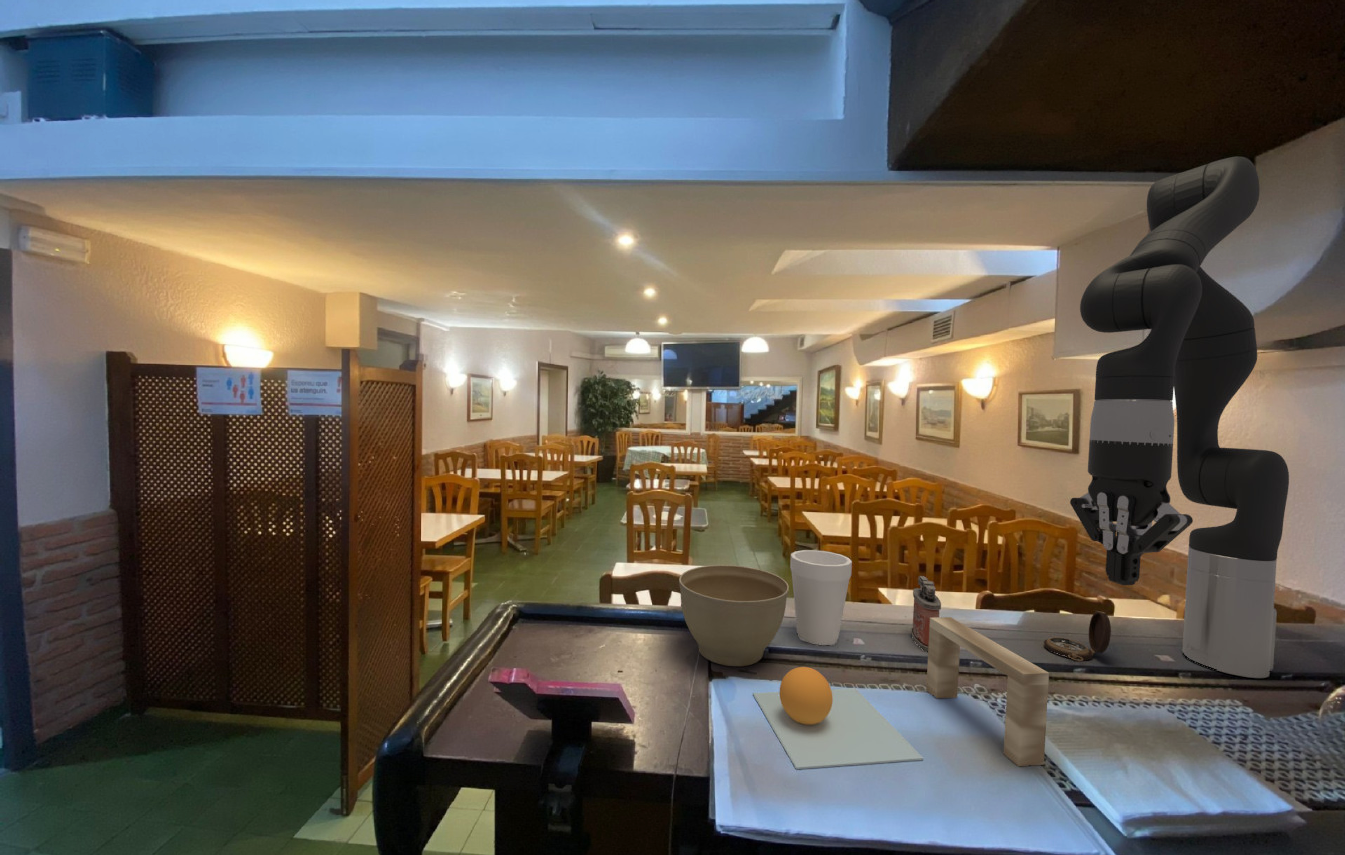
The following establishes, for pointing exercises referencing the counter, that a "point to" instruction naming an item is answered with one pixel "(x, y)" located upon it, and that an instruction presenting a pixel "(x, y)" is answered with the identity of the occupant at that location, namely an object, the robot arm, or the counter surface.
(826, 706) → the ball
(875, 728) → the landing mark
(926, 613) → the lighter
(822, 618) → the foam cup
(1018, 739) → the bridge
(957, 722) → the counter surface
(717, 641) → the planter bowl
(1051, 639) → the compass
